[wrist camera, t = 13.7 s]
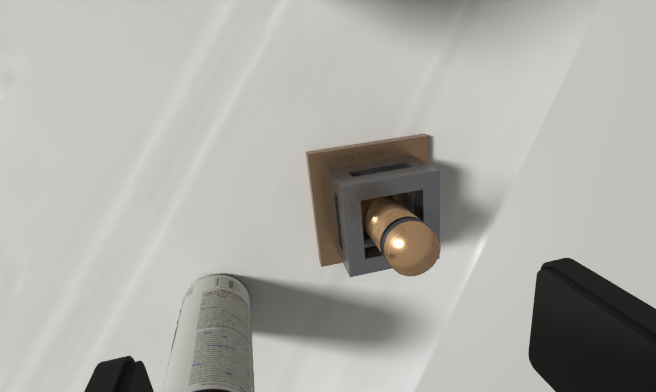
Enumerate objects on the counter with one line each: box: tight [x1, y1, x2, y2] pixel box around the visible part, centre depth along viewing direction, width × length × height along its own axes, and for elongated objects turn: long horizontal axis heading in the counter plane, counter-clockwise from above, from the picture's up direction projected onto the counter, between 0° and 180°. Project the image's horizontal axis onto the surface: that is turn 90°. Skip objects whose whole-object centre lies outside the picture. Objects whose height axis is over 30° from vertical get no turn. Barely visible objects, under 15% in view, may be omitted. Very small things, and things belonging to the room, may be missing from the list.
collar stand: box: [306, 134, 439, 277], centre depth 36 cm, size 12×12×6 cm
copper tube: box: [361, 195, 440, 276], centre depth 33 cm, size 4×4×11 cm
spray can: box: [161, 275, 254, 392], centre depth 30 cm, size 7×7×20 cm
